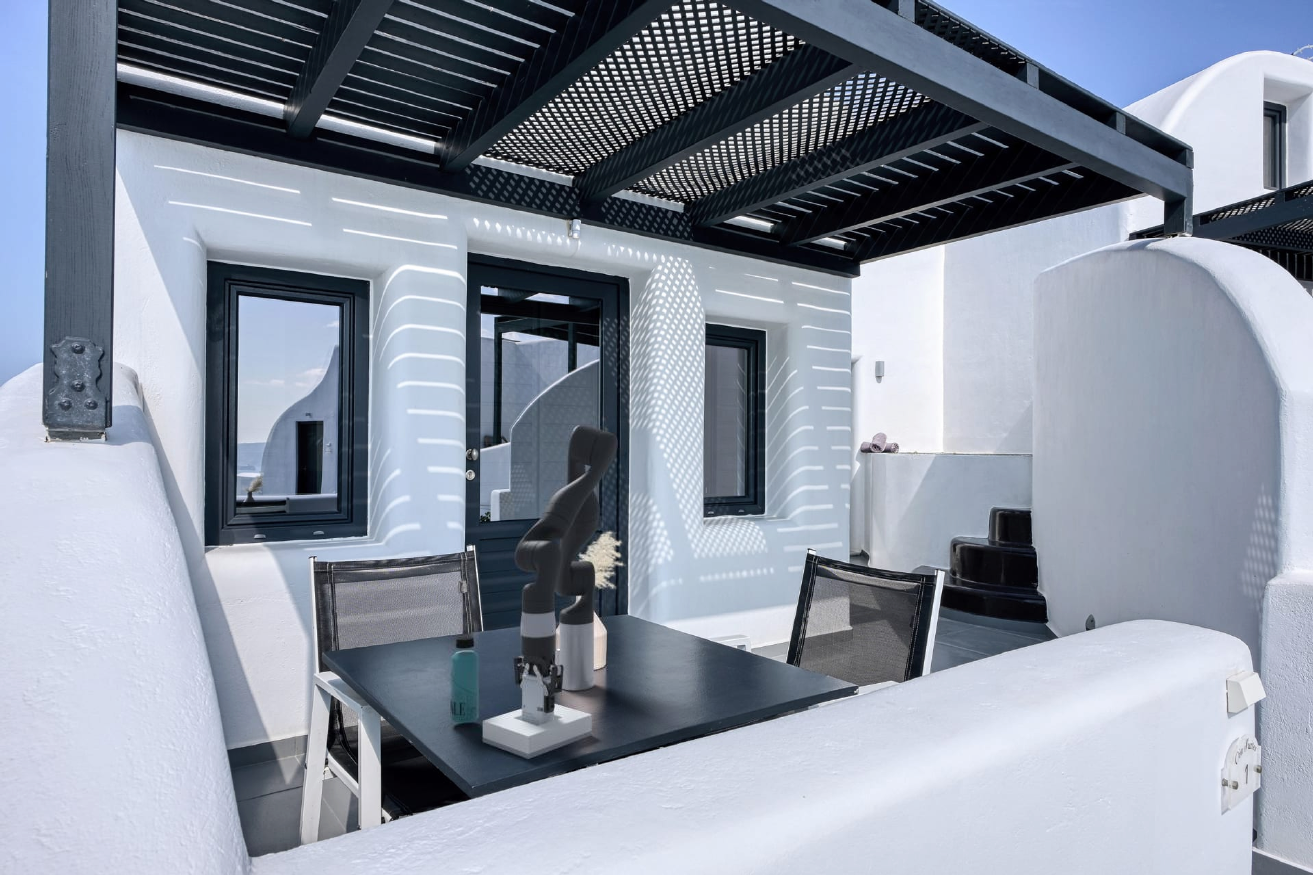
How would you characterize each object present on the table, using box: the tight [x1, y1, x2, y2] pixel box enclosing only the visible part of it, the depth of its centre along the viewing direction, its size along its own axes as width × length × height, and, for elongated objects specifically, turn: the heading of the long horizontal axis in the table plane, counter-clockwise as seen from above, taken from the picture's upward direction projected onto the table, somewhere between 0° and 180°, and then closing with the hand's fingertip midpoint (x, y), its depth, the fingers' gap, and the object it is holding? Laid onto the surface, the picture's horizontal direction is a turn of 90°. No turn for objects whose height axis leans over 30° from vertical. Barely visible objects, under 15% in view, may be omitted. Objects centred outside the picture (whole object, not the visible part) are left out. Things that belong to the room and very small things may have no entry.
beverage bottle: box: [449, 635, 480, 724], centre depth 180 cm, size 6×7×20 cm
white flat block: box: [482, 703, 593, 760], centre depth 171 cm, size 15×18×4 cm
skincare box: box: [521, 674, 554, 726], centre depth 171 cm, size 6×4×12 cm
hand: (538, 708), depth 171 cm, fingers closed on skincare box, 6 cm apart
